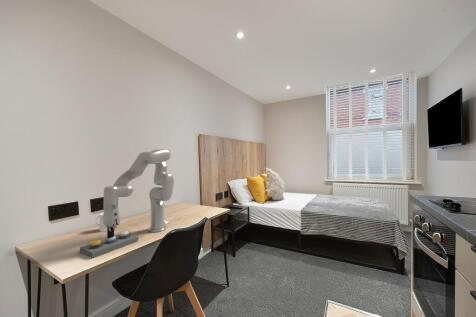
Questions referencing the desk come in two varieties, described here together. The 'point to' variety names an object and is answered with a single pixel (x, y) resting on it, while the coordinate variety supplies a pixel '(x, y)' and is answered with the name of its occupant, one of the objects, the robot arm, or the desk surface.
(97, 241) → the mustard button
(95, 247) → the control board
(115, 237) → the slate button
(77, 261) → the desk surface
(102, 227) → the mug
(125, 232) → the cream button
